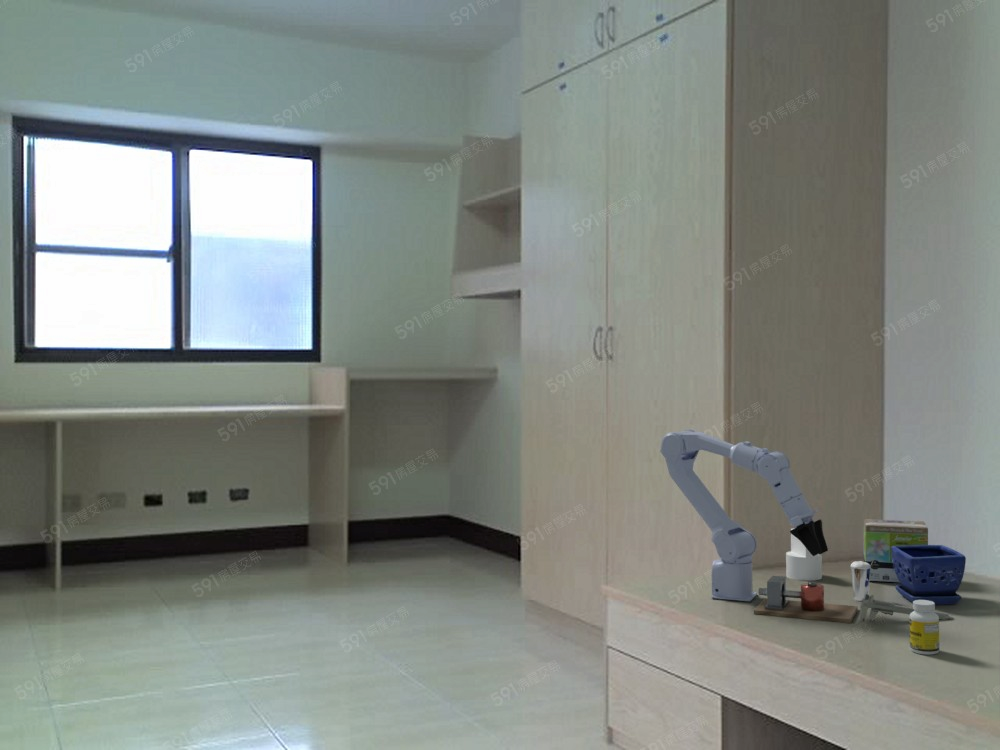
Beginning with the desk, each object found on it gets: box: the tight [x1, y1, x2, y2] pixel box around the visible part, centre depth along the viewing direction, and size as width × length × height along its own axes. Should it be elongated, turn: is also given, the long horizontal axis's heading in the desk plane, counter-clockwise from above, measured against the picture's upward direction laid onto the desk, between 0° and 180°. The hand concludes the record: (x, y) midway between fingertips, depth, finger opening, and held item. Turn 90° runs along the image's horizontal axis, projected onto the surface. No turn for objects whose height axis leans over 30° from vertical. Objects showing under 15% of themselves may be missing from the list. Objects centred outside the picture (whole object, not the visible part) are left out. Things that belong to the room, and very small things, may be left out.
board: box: [753, 597, 859, 624], centre depth 234 cm, size 21×12×1 cm, turn 64°
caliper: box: [859, 594, 955, 623], centre depth 225 cm, size 20×1×6 cm, turn 92°
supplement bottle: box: [909, 600, 940, 656], centre depth 202 cm, size 5×5×10 cm
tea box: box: [863, 518, 929, 583], centre depth 264 cm, size 15×10×15 cm, turn 73°
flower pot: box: [891, 544, 967, 606], centre depth 242 cm, size 13×13×12 cm
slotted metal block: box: [765, 575, 789, 611], centre depth 237 cm, size 4×8×6 cm, turn 154°
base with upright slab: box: [785, 527, 823, 582], centre depth 269 cm, size 9×9×12 cm
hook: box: [758, 581, 825, 610], centre depth 235 cm, size 14×5×6 cm, turn 64°
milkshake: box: [850, 559, 874, 602], centre depth 243 cm, size 5×5×10 cm
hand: (820, 553), depth 234 cm, fingers open, 7 cm apart
